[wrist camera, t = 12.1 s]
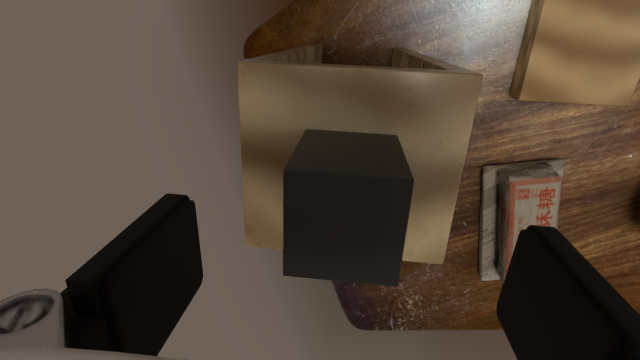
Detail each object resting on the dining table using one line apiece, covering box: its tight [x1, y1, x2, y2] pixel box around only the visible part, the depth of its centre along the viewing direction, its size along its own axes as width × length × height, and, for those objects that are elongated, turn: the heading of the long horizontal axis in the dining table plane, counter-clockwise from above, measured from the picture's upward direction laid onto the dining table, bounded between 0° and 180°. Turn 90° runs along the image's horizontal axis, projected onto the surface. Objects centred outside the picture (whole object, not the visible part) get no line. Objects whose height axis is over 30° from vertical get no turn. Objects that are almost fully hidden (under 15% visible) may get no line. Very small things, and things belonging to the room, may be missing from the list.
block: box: [283, 129, 414, 287], centre depth 15 cm, size 4×4×6 cm
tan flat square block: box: [509, 0, 640, 107], centre depth 40 cm, size 12×12×3 cm
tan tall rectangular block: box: [237, 43, 483, 264], centre depth 32 cm, size 10×11×30 cm
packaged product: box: [479, 159, 564, 283], centre depth 48 cm, size 18×5×10 cm
